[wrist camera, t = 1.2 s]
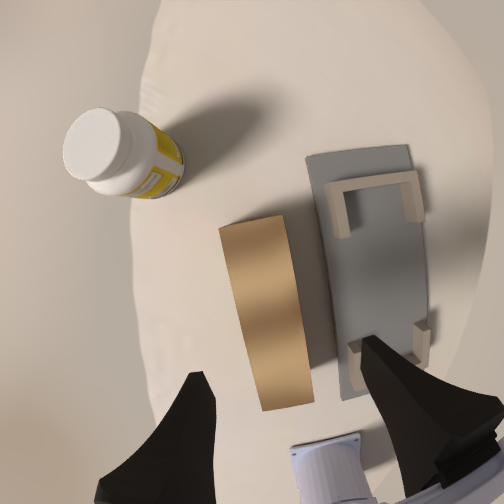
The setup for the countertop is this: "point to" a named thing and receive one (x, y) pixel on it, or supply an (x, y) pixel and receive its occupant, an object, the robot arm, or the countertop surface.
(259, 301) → the oak slat
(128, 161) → the supplement bottle
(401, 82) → the countertop surface
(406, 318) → the cap board
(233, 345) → the countertop surface
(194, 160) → the countertop surface
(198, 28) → the countertop surface
